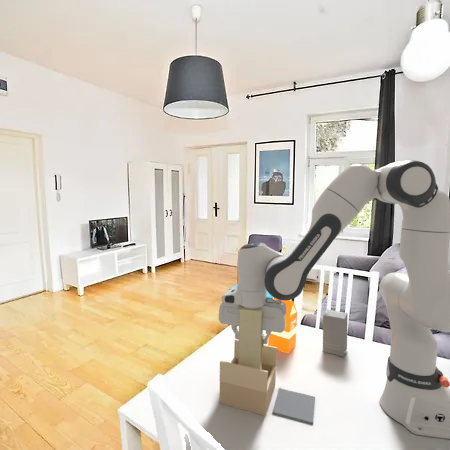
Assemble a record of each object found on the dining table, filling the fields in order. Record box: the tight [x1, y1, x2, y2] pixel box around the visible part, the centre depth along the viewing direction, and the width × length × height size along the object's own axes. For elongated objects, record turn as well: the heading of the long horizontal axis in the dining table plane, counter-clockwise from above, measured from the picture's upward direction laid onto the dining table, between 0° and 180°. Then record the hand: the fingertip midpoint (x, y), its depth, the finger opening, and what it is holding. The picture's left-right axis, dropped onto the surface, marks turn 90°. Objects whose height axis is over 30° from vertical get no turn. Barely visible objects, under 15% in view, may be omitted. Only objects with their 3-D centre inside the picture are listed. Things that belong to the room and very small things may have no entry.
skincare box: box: [322, 309, 348, 357], centre depth 117 cm, size 8×7×16 cm
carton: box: [219, 338, 278, 416], centre depth 91 cm, size 14×14×13 cm
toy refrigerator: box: [238, 306, 265, 369], centre depth 90 cm, size 8×7×21 cm
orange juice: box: [267, 297, 298, 354], centre depth 120 cm, size 8×9×20 cm
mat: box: [272, 387, 316, 425], centre depth 87 cm, size 11×11×1 cm
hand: (251, 340), depth 90 cm, fingers closed on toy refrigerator, 7 cm apart
